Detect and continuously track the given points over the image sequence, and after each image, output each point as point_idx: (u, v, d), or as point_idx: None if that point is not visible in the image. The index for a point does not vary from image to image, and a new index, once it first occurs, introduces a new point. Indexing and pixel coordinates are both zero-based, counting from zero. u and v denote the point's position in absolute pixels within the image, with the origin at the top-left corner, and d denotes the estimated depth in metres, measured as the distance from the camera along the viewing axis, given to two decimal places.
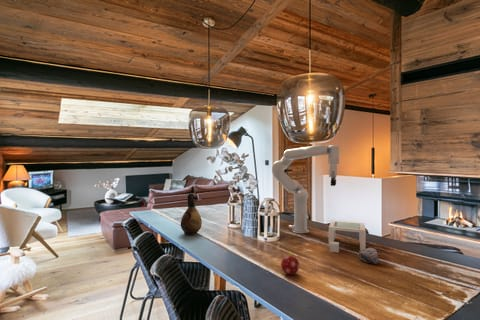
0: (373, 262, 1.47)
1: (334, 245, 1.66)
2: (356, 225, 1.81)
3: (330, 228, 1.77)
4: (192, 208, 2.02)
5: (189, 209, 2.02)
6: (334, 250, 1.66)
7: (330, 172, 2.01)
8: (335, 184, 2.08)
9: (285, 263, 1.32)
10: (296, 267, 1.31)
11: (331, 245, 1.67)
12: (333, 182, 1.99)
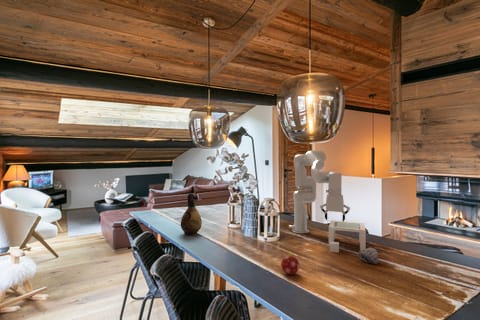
0: (373, 262, 1.47)
1: (334, 245, 1.66)
2: (356, 225, 1.81)
3: (330, 228, 1.77)
4: (192, 208, 2.02)
5: (189, 209, 2.02)
6: (334, 250, 1.66)
7: (343, 205, 1.65)
8: None
9: (285, 263, 1.32)
10: (296, 267, 1.31)
11: (331, 245, 1.67)
12: None
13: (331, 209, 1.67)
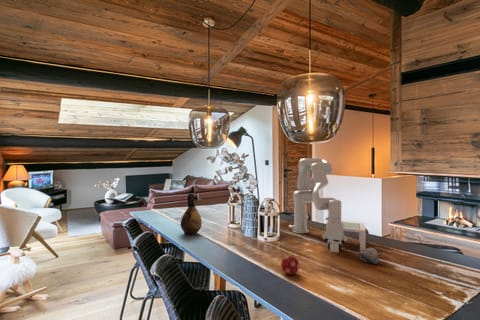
0: (373, 262, 1.47)
1: (334, 245, 1.66)
2: (356, 225, 1.81)
3: None
4: (192, 208, 2.02)
5: (189, 209, 2.02)
6: (334, 250, 1.66)
7: (343, 234, 1.65)
8: None
9: (285, 263, 1.32)
10: (296, 267, 1.31)
11: (331, 245, 1.67)
12: None
13: (331, 237, 1.67)
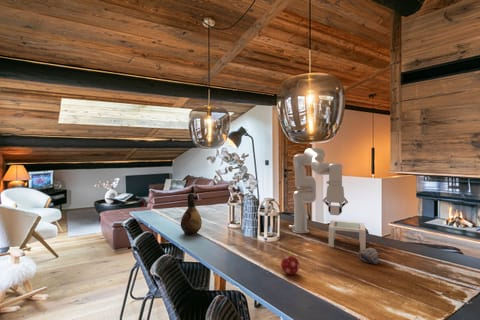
0: (373, 262, 1.47)
1: (335, 208, 1.67)
2: (356, 225, 1.81)
3: (330, 228, 1.77)
4: (192, 208, 2.02)
5: (189, 209, 2.02)
6: (334, 213, 1.67)
7: (343, 196, 1.65)
8: None
9: (285, 263, 1.32)
10: (296, 267, 1.31)
11: (332, 208, 1.67)
12: (341, 209, 1.68)
13: (331, 200, 1.67)
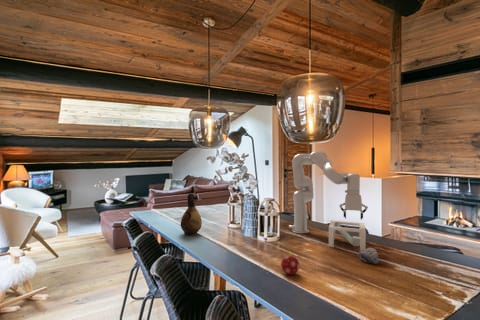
0: (373, 262, 1.47)
1: (359, 242, 1.78)
2: (351, 238, 1.83)
3: (330, 228, 1.77)
4: (192, 208, 2.02)
5: (189, 209, 2.02)
6: (354, 242, 1.79)
7: (361, 205, 1.78)
8: (345, 217, 1.84)
9: (285, 263, 1.32)
10: (296, 267, 1.31)
11: (359, 240, 1.78)
12: None
13: (350, 208, 1.79)
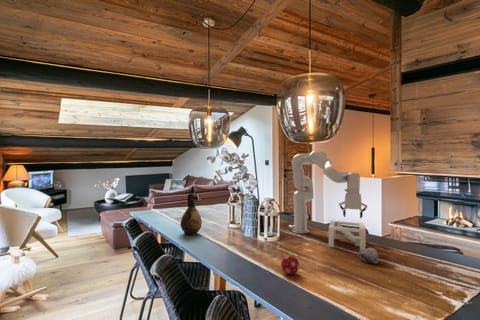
0: (373, 262, 1.47)
1: None
2: (353, 236, 1.82)
3: (330, 228, 1.77)
4: (192, 208, 2.02)
5: (189, 209, 2.02)
6: (356, 242, 1.78)
7: (361, 203, 1.78)
8: None
9: (285, 263, 1.32)
10: (296, 267, 1.31)
11: None
12: (362, 214, 1.80)
13: (350, 207, 1.80)
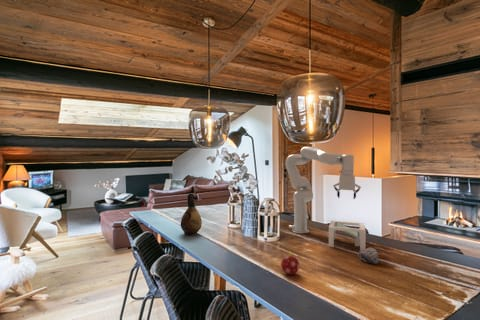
0: (373, 262, 1.47)
1: None
2: (355, 232, 1.82)
3: (330, 228, 1.77)
4: (192, 208, 2.02)
5: (189, 209, 2.02)
6: (356, 242, 1.78)
7: (354, 184, 1.82)
8: None
9: (285, 263, 1.32)
10: (296, 267, 1.31)
11: None
12: (355, 195, 1.84)
13: (343, 188, 1.84)
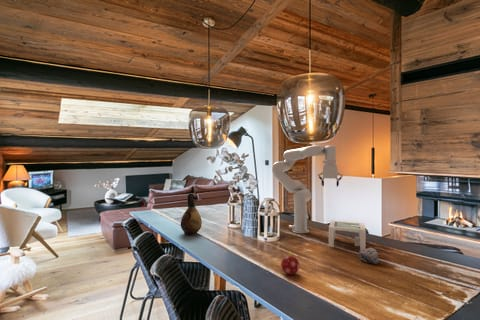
0: (373, 262, 1.47)
1: None
2: None
3: (330, 228, 1.77)
4: (192, 208, 2.02)
5: (189, 209, 2.02)
6: (356, 242, 1.78)
7: (337, 173, 1.96)
8: (323, 185, 2.03)
9: (285, 263, 1.32)
10: (296, 267, 1.31)
11: None
12: (338, 183, 1.98)
13: (327, 176, 1.98)
